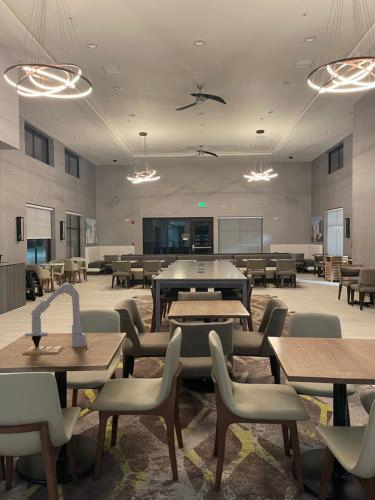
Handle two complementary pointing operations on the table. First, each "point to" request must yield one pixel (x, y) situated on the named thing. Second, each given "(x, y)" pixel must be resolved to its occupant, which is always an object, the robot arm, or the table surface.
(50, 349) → the plank
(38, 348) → the plank
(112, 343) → the table surface
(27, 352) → the floor base
